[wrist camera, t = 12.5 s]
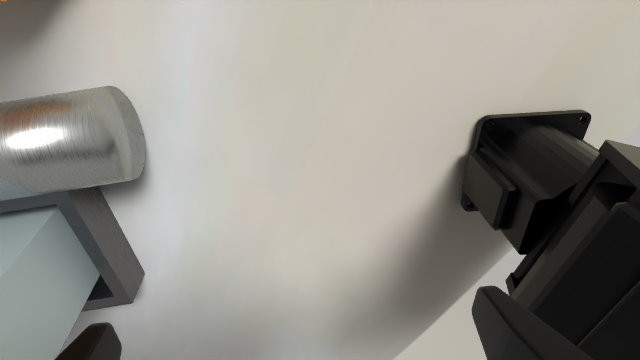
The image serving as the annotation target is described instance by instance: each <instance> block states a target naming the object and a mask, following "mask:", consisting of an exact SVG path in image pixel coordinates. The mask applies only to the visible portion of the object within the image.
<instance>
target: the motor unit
mask: <svg viewBox="0 0 640 360" xmlns="http://www.w3.org/2000/svg"><path fill="white" fill-rule="evenodd" d="M144 164H145V140H144V135H143V130H142V126H141V123H140V120H139V118H138V115H137V113H136V111H135V109H134V107H133V105H132V103H131V102H130V100H129V99H128V98H127V96H126V95H125V94H124V93H123V92H122V91H121V90H119V89H118V88H116V87H113V86H105V87H99V88H92V89H86V90H79V91H73V92H66V93H60V94H53V95H47V96H40V97H34V98H27V99H21V100H14V101H8V102H1V103H0V213H3V212H9V211H15V210H22V209H28V208H34V207H41V206H47V205H53V204H56V205H57V206H58V208H59V209H60V211H61V213H62V214H63V216H64V217H65V219H66V221H67V222H68V224H69V225H70V227H71V228H72V230H73V232H74V233H75V235H76V236H77V238H78V240H79V241H80V243H81V244H82V246H83V248H84V249H85V251H86V252H87V254H88V255H89V257H90V259H91V260H92V262H93V263H94V265H95V267H96V268H97V270H98V271H99V273H100V276H99V278H98V280H97V282H96V284H95V285H94V287H93V289H92V291H91V293H90V295H89V297H88V299H87V301H86V303H85V305H84V306H83V308H82V310H81V312H82V311H88V310H94V309H100V308H107V307H113V306H119V305H125V304H131V303H133V302H134V299H135V296H136V294H137V291H138V289H139V286H140V284H141V281H142V279H143V276H144V271H143V269H142V267H141V265H140V263H139V262H138V260H137V258H136V256H135V254H134V252H133V250H132V249H131V247H130V245H129V243H128V241H127V239H126V237H125V235H124V234H123V232H122V230H121V228H120V226H119V224H118V222H117V221H116V219H115V217H114V215H113V213H112V211H111V209H110V208H109V206H108V204H107V202H106V200H105V198H104V196H103V194H102V193H101V191H100V189H99V187H98V186H99V185H105V184H112V183H118V182H124V181H131V180H135V179H137V178H138V177H139V176H140V174H141V173H142V171H143V168H144Z"/></svg>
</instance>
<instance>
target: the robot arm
mask: <svg viewBox="0 0 640 360" xmlns="http://www.w3.org/2000/svg"><path fill="white" fill-rule="evenodd" d="M581 117H582V118H581ZM580 118H581V120H580V121H578V120H579V119H580ZM590 121H591V114H589V113H588V112H586V111H584V110H568V111H551V112H534V113H517V114H501V115H487V116H484V117H483V118H482V119H481V120H480V121H479V123H478V127H477V132H476V136H475V141H474V145H473V150H472V152H471V153H470V154H469V158H468V163H467V167H466V172H465V176H464V181H463V186H462V189H463V195H462V199H461V206H462V207H463V209H464V210H465V211H469V212H470V211H480V213H481V214H482V215H483V217H484V218H485V219H486V221H487V222H488V223H489V225H490V226H491V227H492V228H493V229H494V230H501V231H502V233H503V234H504V235H505V236H506V238H507V239H508V240H509V242H510V243H511V244H512V245H513V247H514V248H515V249H516V251H517V252H518V253H519V254H520V255H526V254H527V255H526V256H525V258H524V259H523V260H522V262H521V263H520V265H519V266H518V267H517V269H516V270H515V271H514V273H511V274H510V275H509V276H508V278H507V279H506V284H507V288H508V292H509V295H510V296H509V295H507V294H506V293H505V292H503V291H502V290H501V289H499V288H498V287H496V286H484V287H479V289H478V290H477V292H476V296H475V300H474V303H473V306H472V316H473V319H474V322H475V325H476V328H477V331H478V334H479V337H480V340H481V342H482V345H483V348H484V351H485V354H486V357H487V360H640V147H636V146H631V145H627V144H623V143H619V142H615V141H610V140H605V142H604V143H603V145H602V146H601V147H600V149H599V150H598V149H596V148H595V147H593V146H592V145H590V144H589V143H587V142H585V141H584V140H583V138H584V136H585V133H586V131H587V128H588V126H589V123H590ZM489 122H491V124H490V126H489V127H486V125H487V124H488V123H489ZM470 202H472V203H471V204H469V205H468V203H470ZM121 349H122V348H121V342H120V340H119V338H118V336H117V334H116V332H115V330H114V328H113V326H112V325H111V324H110V323H107V322H106V323H95V324H92V325H90V326H88V327H87V328H86V329H85V330H84V331H83V332H82V333H81V334H80V335H79V336H78V337H77V338H76V339H75V340H74V341H73V342H72V343H71V344H70V345H69V346H68V347H67V348H66V349H65V350H63V351H62V352H61V353H60V354H59V355H58V356H57V357H56V358H55V359H54V360H120V357H121Z"/></svg>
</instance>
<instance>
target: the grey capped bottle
mask: <svg viewBox="0 0 640 360" xmlns="http://www.w3.org/2000/svg"><path fill="white" fill-rule="evenodd" d="M99 276H100V273H99V271H98V270H97V268H96V267H95V265H94V263H93V262H92V260H91V259H90V257H89V255H88V254H87V252H86V251H85V249H84V248H83V246H82V244H81V243H80V241H79V240H78V238H77V236H76V235H75V233H74V232H73V230H72V228H71V227H70V225H69V224H68V222H67V221H66V219H65V217H64V216H63V214H62V213H61V211H60V209H59V208H58V206H57V205H56V204H53V205H47V206H41V207H34V208H28V209H22V210H15V211H9V212H3V213H0V360H54V359H55V358H56V357H57V356H58V354H59V352H60V350H61V349H62V347H63V345H64V343H65V341H66V339H67V337H68V335H69V333H70V331H71V329H72V327H73V326H74V324H75V322H76V320H77V318H78V316H79V314H80V312H81V310H82V308H83V306H84V305H85V303H86V301H87V299H88V297H89V295H90V293H91V291H92V289H93V287H94V285H95V284H96V282H97V280H98V278H99Z"/></svg>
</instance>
